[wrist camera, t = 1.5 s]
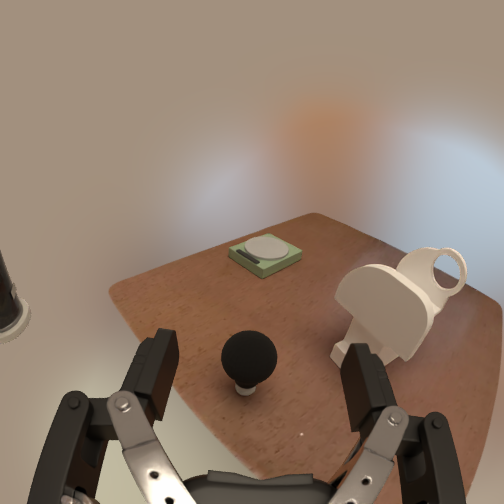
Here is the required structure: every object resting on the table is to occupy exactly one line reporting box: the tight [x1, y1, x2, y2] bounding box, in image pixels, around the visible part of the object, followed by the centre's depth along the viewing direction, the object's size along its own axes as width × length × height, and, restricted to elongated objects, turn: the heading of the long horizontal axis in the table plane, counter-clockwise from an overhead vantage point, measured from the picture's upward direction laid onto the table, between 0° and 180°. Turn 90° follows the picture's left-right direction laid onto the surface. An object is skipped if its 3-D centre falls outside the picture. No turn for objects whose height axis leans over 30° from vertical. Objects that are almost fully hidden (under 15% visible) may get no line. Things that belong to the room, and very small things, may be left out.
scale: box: [229, 233, 302, 279], centre depth 59 cm, size 12×10×3 cm
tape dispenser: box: [330, 247, 467, 369], centre depth 32 cm, size 14×13×18 cm
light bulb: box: [221, 330, 277, 396], centre depth 29 cm, size 6×6×10 cm
